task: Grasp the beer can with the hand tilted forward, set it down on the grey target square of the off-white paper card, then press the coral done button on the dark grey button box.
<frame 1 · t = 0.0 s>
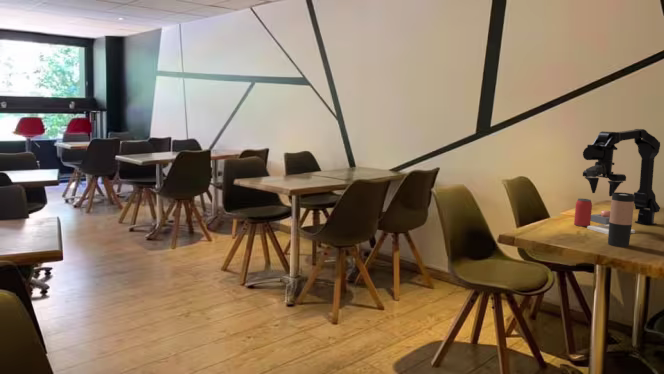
hand: (601, 194, 227), 15 cm above the table, tool pointing down, fingers open, 9 cm apart
button box: (605, 222, 239), on the table
travel mug: (618, 245, 196), on the table
paper card: (610, 230, 221), on the table
done button: (606, 214, 239), point 3 cm above the table, slide at 0.0 cm
beer can: (581, 225, 231), on the table
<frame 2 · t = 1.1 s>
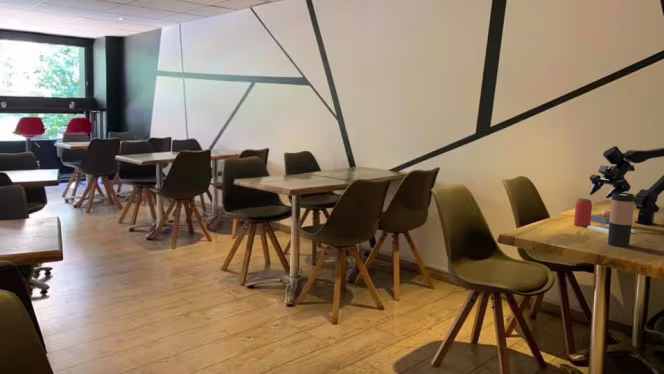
hand: (598, 195, 232), 13 cm above the table, tool tilted 45°, fingers open, 9 cm apart
nothing on the table moved.
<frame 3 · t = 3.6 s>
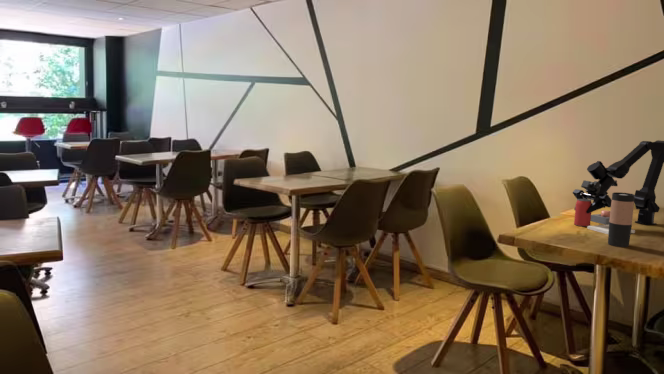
hand: (580, 211, 230), 7 cm above the table, tool tilted 45°, fingers closed on beer can, 7 cm apart
beer can: (581, 225, 231), on the table, touching gripper
everything else where it was.
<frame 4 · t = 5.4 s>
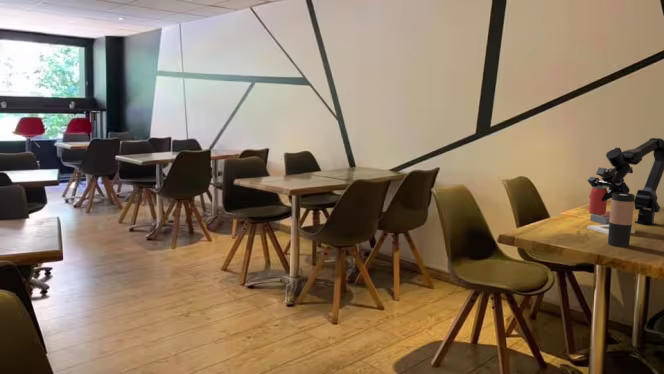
hand: (596, 199, 223), 13 cm above the table, tool tilted 45°, fingers closed on beer can, 7 cm apart
beer can: (597, 214, 225), point 6 cm above the table, touching gripper
everything else where it was.
when the fingers open (9 cm above the table, at t = 7.1 s): beer can stays where it is, resting on paper card.
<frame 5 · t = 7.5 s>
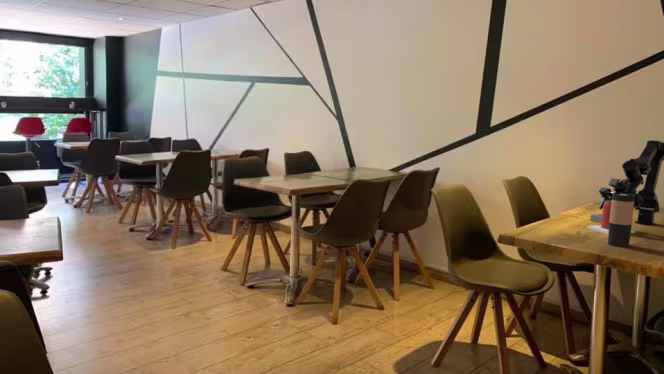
hand: (608, 210, 219), 9 cm above the table, tool tilted 45°, fingers open, 9 cm apart
beer can: (609, 228, 221), point 1 cm above the table, touching paper card
everything else where it was.
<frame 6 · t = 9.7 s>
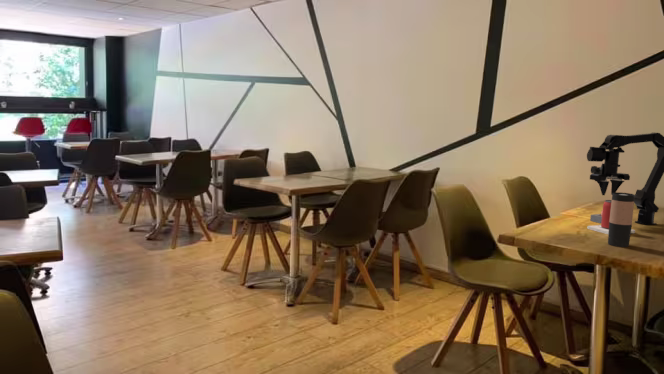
hand: (607, 195, 237), 13 cm above the table, tool pointing down, fingers open, 5 cm apart
nothing on the table moved.
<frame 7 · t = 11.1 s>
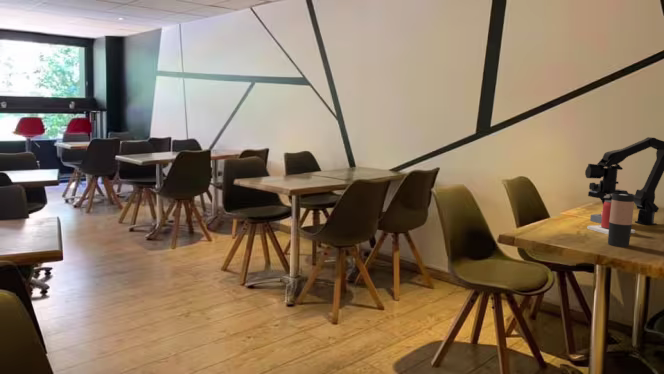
hand: (606, 211, 238), 5 cm above the table, tool pointing down, fingers closed, pressing on done button
done button: (605, 215, 239), point 3 cm above the table, slide at 0.2 cm, touching gripper
everything else where it was.
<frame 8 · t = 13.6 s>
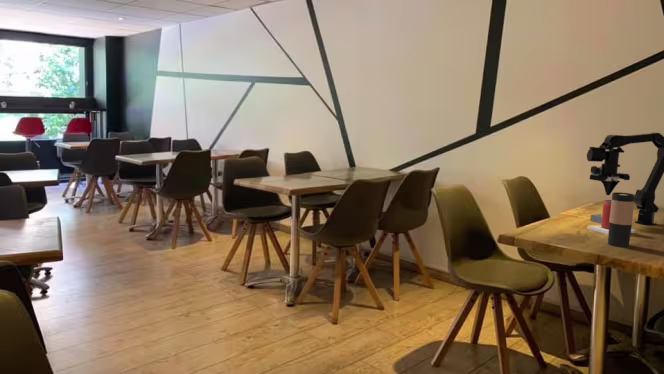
hand: (607, 195, 237), 13 cm above the table, tool pointing down, fingers closed
done button: (605, 217, 239), point 2 cm above the table, slide at 1.2 cm
everything else where it was.
at the end: beer can inside the target area on the paper card (0.8 cm from its centre), point 1.0 cm above the paper card's base; beer can tilted 0°; done button slide at 1.2 cm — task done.
